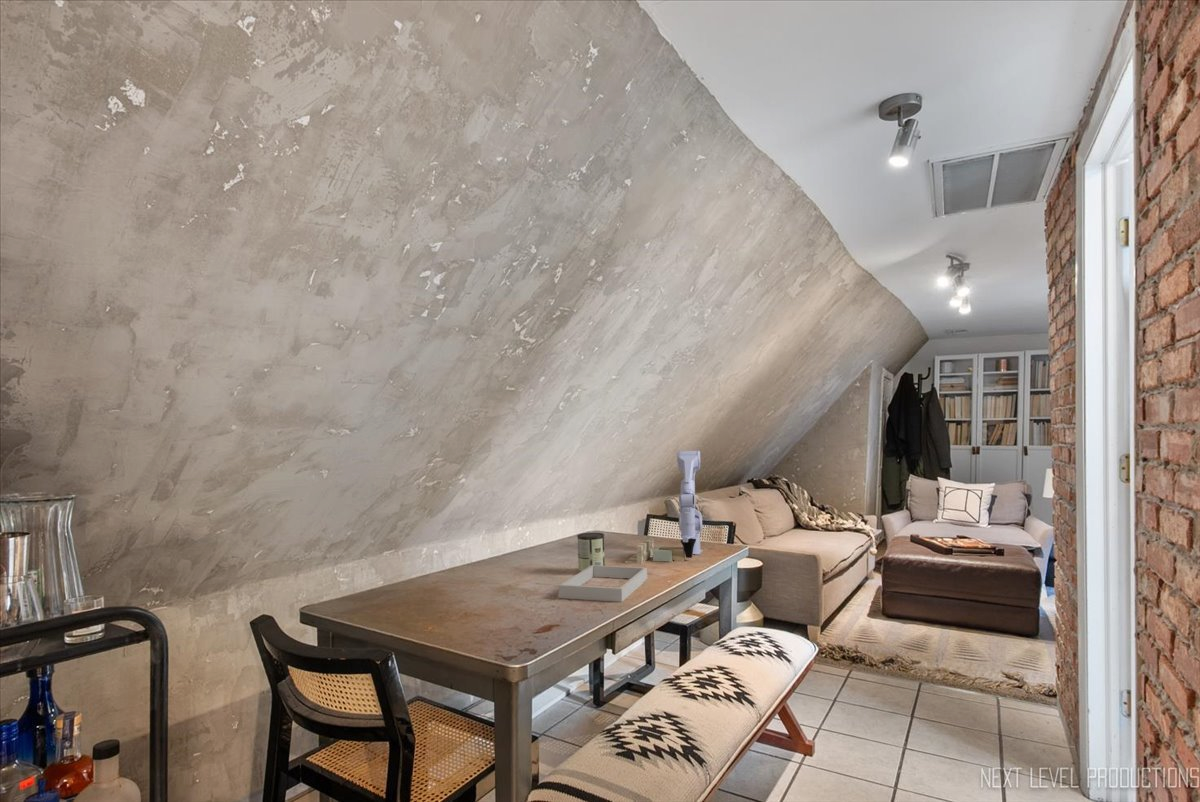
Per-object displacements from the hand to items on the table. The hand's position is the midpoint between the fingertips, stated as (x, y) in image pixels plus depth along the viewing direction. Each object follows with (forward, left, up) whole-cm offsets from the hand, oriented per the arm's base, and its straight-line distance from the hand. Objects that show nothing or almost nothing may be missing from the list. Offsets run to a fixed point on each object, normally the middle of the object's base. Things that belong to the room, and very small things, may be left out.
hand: (689, 557), depth 256 cm
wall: (0, -21, -1) cm, 21 cm away
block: (0, -10, -1) cm, 10 cm away
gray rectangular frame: (+51, -19, -1) cm, 54 cm away
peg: (0, -7, -1) cm, 7 cm away
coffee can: (+28, -32, -2) cm, 43 cm away
